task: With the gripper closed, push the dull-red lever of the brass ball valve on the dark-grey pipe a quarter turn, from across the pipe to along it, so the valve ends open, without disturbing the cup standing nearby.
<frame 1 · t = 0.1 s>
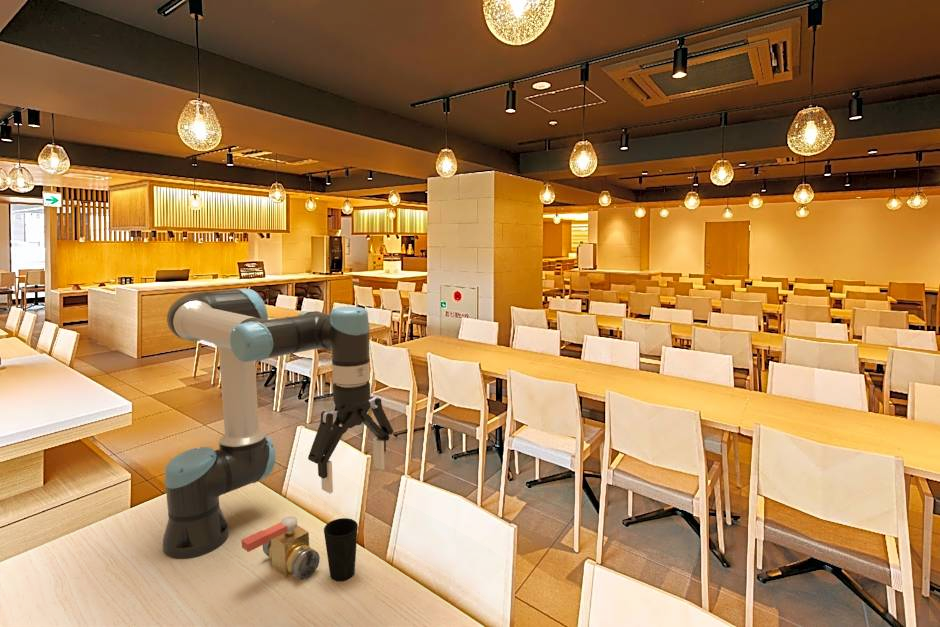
hand: (354, 478, 109), 28 cm above the table, fingers open, 13 cm apart
cup: (342, 574, 121), on the table
lever: (271, 532, 119), point 11 cm above the table, hinge at 0.0°
valve body: (291, 565, 124), on the table
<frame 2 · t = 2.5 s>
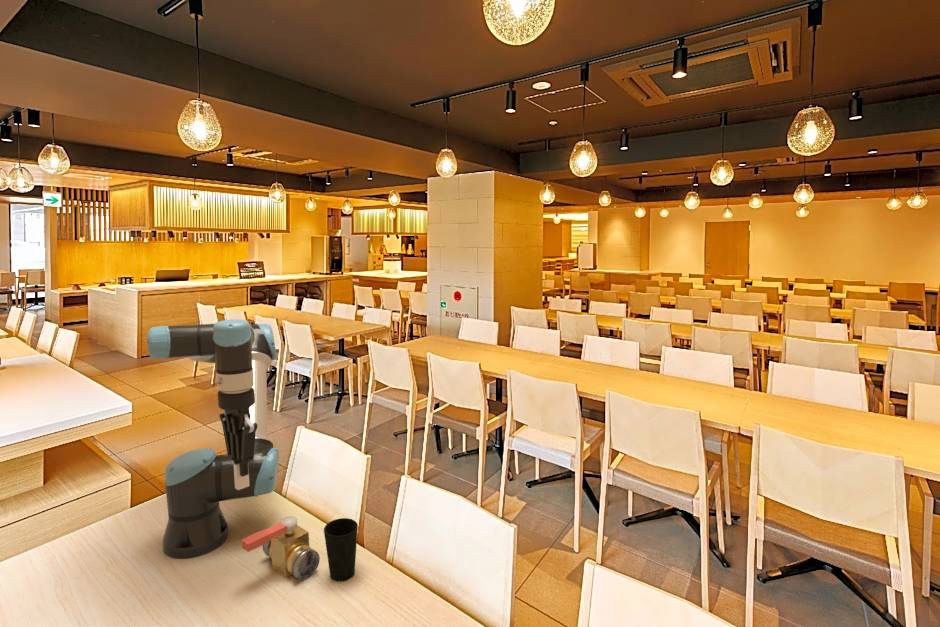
hand: (242, 487, 119), 21 cm above the table, fingers closed
nothing on the table moved.
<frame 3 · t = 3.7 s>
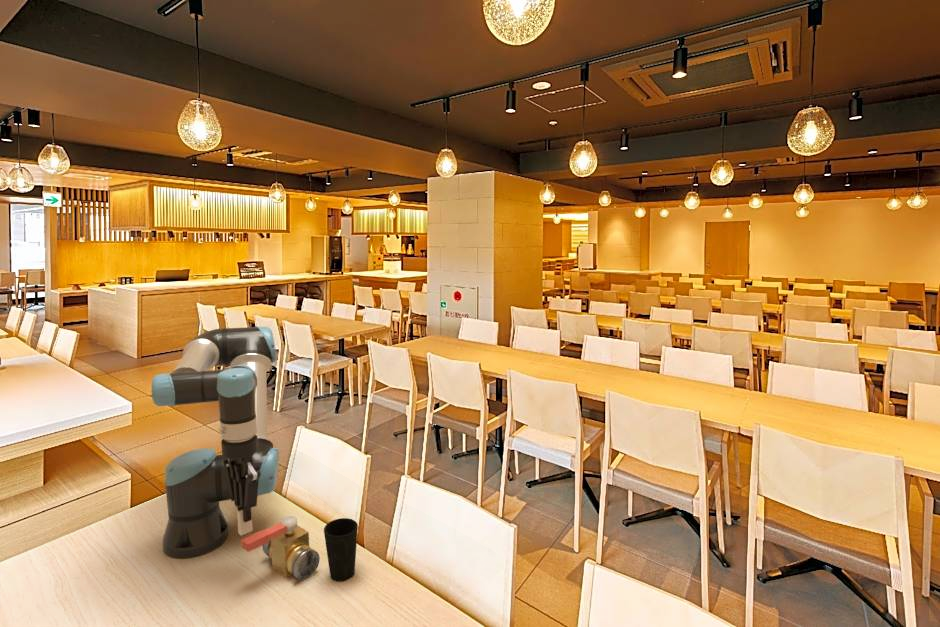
hand: (245, 531, 121), 10 cm above the table, fingers closed
nothing on the table moved.
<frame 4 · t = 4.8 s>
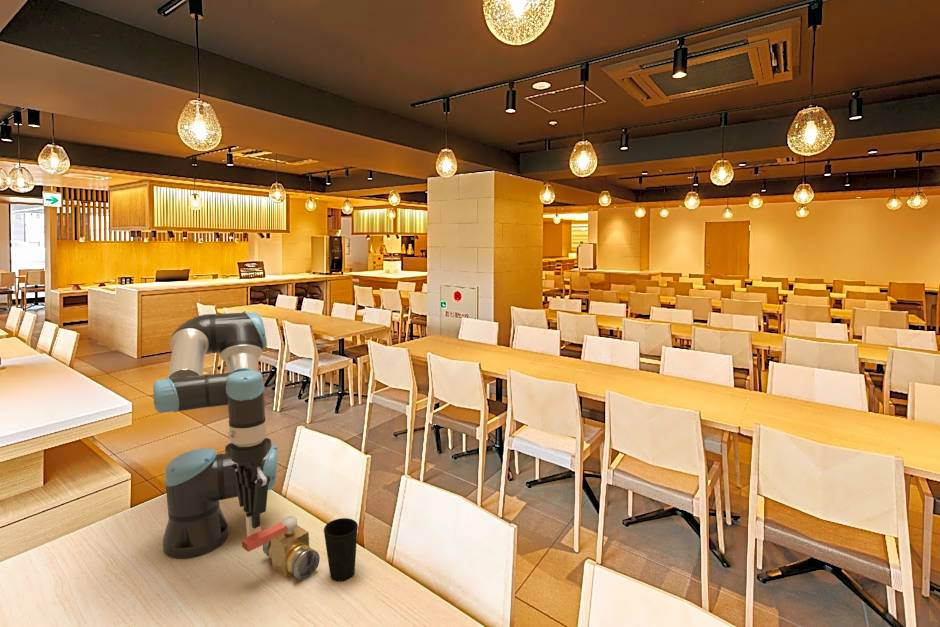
hand: (254, 538, 118), 10 cm above the table, fingers closed
lever: (271, 532, 119), point 11 cm above the table, hinge at 0.0°, touching gripper
everything else where it was.
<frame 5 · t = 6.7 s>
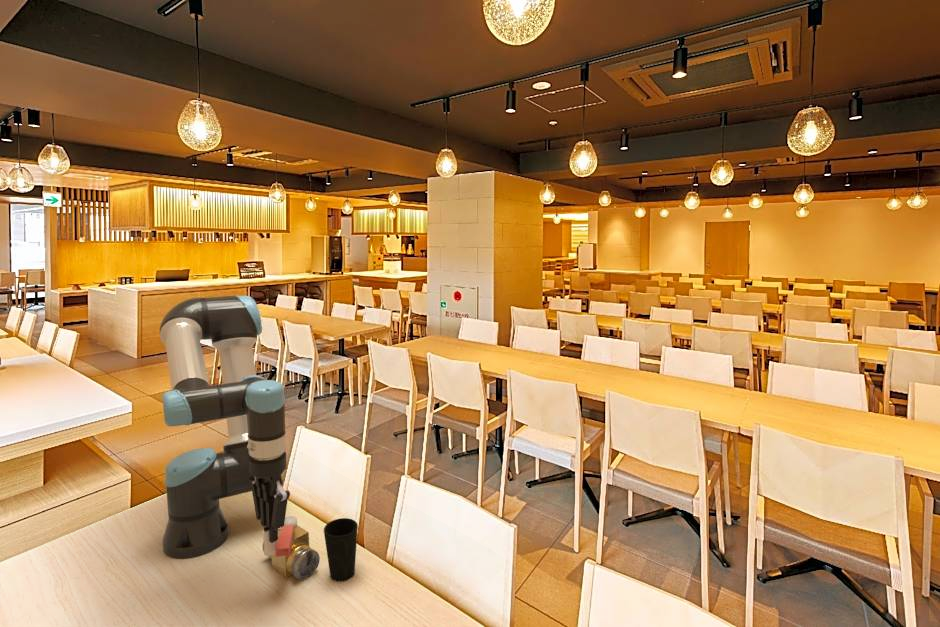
hand: (271, 552, 114), 9 cm above the table, fingers closed
lever: (286, 535, 118), point 11 cm above the table, hinge at 50.9°, touching gripper
everything else where it was.
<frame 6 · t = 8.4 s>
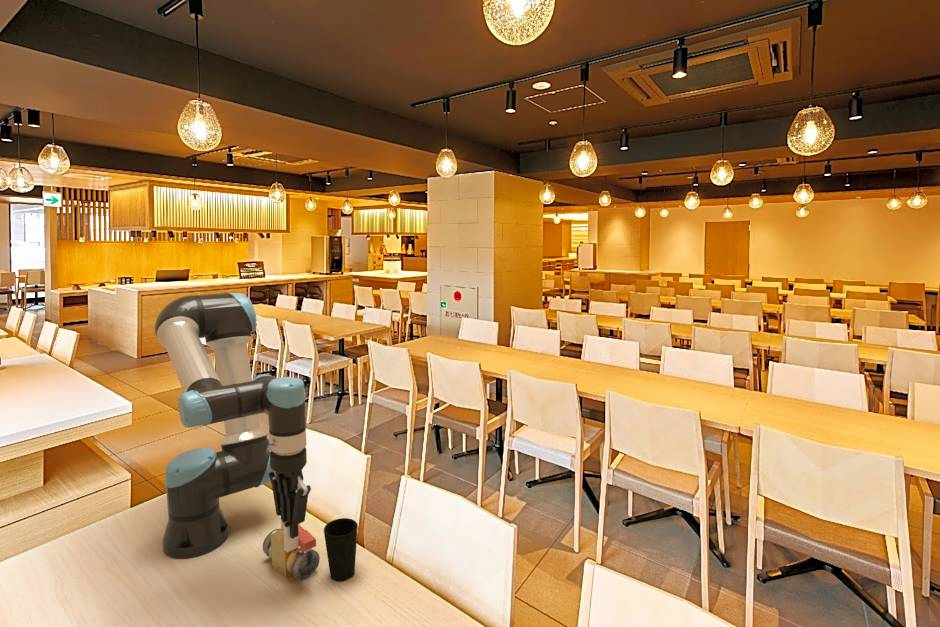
hand: (291, 548, 115), 10 cm above the table, fingers closed
lever: (297, 532, 119), point 11 cm above the table, hinge at 82.0°, touching gripper
everything else where it was.
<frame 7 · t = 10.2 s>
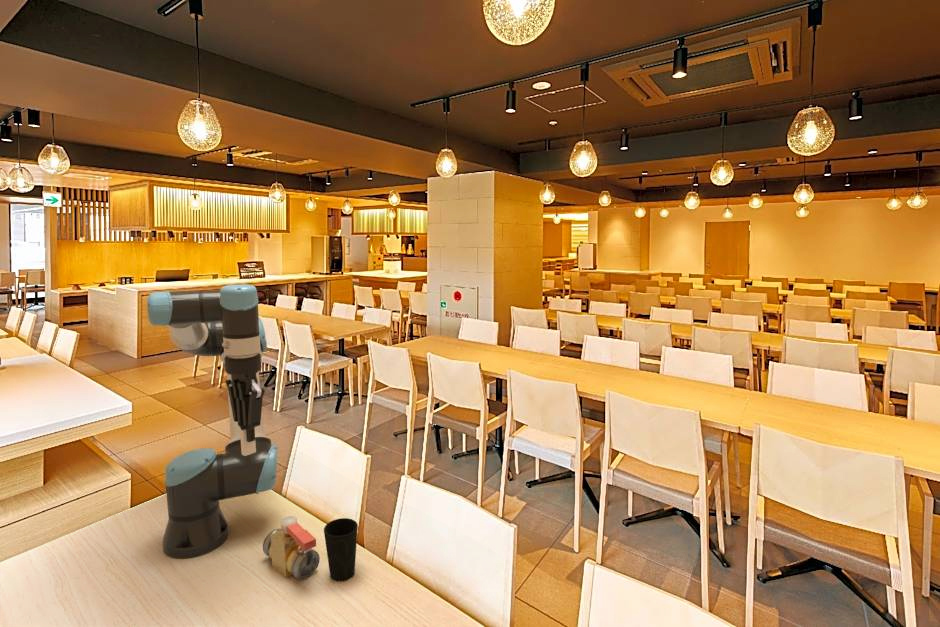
hand: (248, 453, 119), 29 cm above the table, fingers closed
lever: (297, 532, 119), point 11 cm above the table, hinge at 82.0°
everything else where it was.
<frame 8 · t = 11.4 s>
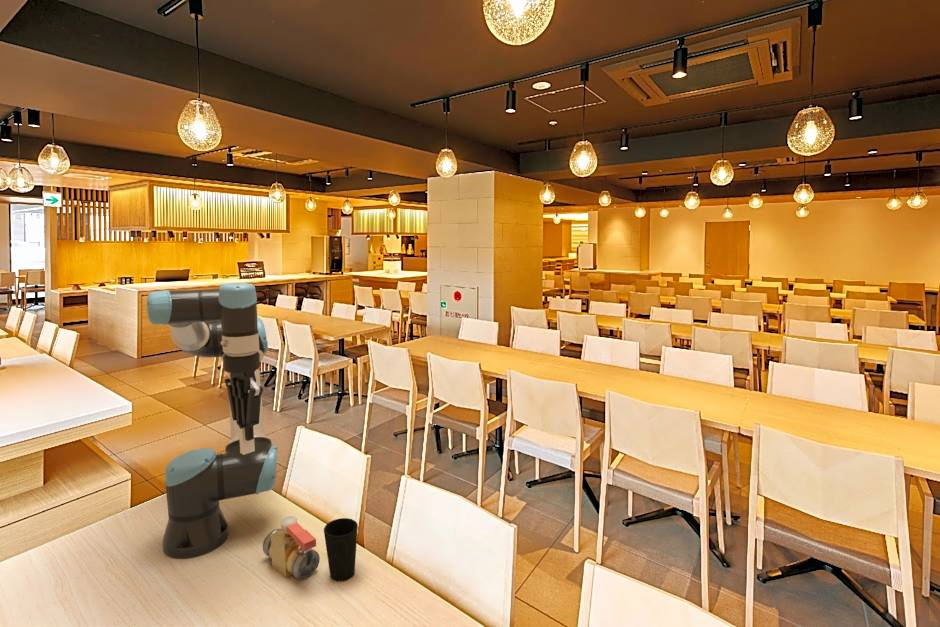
hand: (247, 451, 118), 29 cm above the table, fingers closed
nothing on the table moved.
at the end: lever at +82° (first picture: +0°); cup moved 0.2 cm from its start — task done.
